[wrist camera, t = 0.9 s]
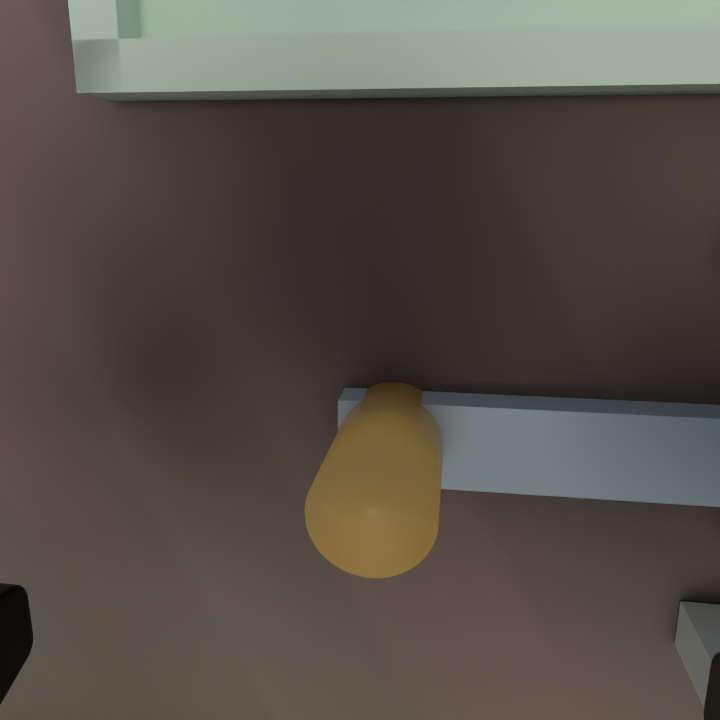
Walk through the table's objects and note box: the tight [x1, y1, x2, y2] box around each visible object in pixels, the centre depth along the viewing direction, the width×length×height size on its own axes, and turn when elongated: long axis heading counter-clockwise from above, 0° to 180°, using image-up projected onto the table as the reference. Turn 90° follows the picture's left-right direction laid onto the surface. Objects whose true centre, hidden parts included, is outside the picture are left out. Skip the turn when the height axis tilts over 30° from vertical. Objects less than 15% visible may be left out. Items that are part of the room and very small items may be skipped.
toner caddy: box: [305, 382, 720, 578], centre depth 13 cm, size 15×5×5 cm, turn 90°
